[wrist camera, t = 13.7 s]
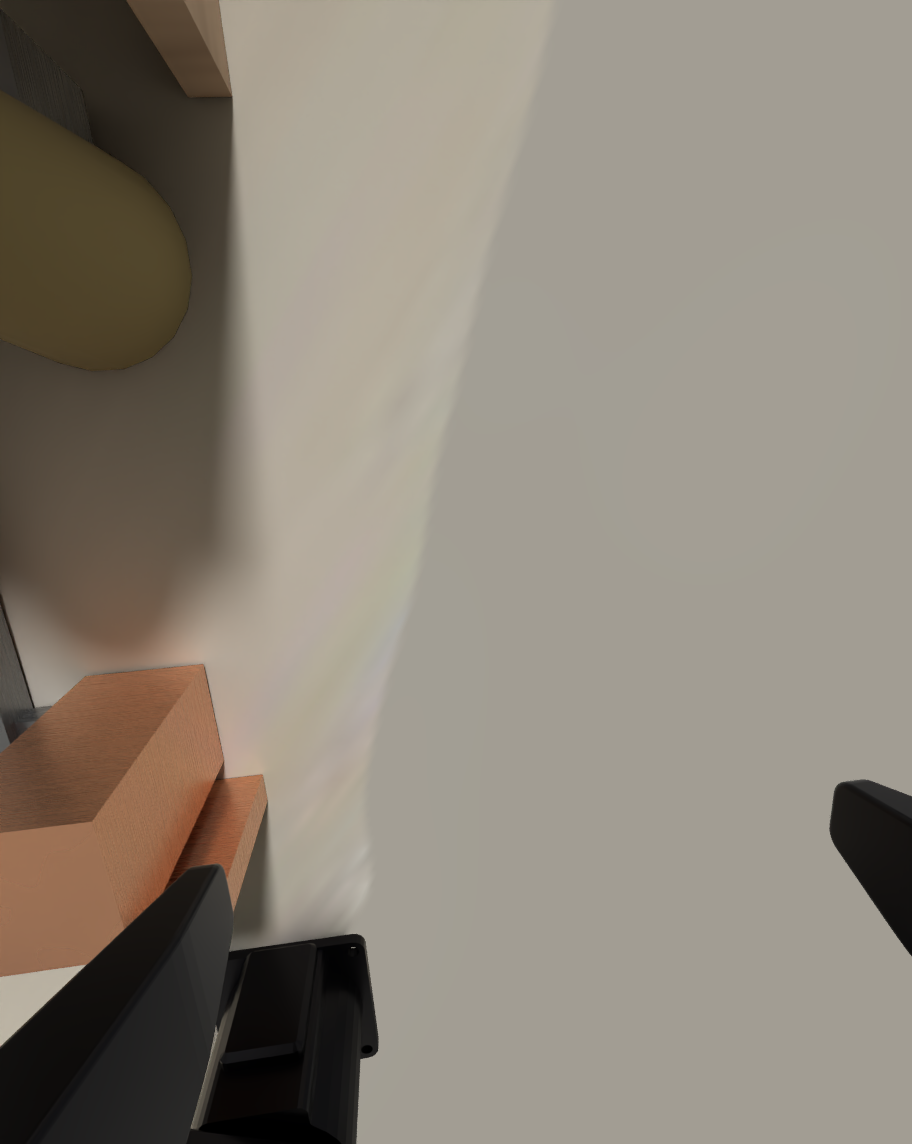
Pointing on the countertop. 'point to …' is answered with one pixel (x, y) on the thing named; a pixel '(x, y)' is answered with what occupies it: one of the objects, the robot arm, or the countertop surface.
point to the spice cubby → (188, 42)
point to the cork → (83, 249)
